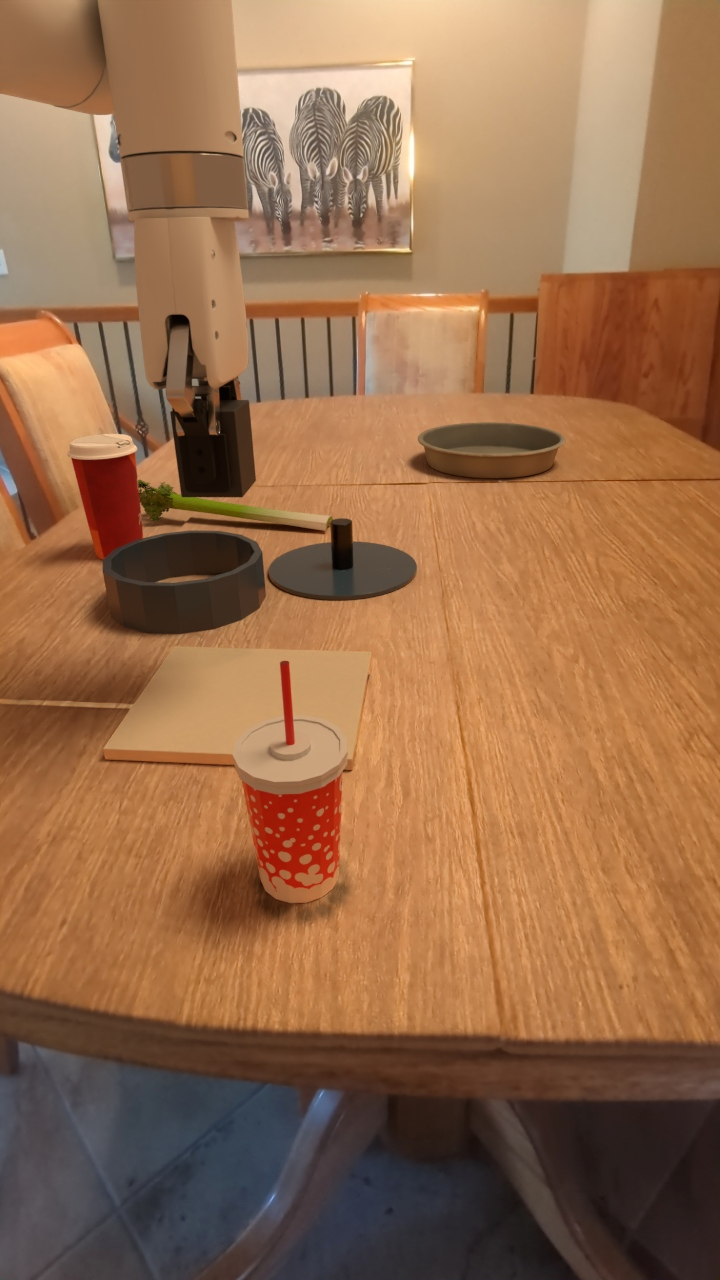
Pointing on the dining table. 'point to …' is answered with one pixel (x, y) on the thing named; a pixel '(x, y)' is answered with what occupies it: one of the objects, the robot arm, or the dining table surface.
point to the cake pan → (491, 449)
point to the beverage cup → (294, 799)
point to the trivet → (236, 701)
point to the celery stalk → (222, 508)
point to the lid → (342, 568)
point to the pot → (186, 602)
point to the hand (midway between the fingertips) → (218, 479)
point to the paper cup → (108, 489)
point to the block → (238, 444)
